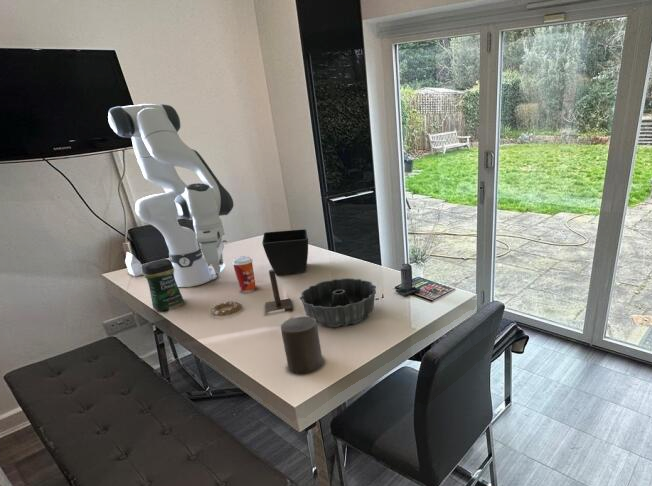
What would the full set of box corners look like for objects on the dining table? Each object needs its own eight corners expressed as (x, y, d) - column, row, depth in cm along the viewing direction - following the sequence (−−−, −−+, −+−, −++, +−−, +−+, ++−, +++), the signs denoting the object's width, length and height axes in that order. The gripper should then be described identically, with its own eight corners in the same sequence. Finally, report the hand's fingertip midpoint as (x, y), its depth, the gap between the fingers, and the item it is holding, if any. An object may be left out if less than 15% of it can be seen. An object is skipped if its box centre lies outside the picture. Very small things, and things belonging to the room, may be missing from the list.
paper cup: (251, 294, 167) (243, 262, 161) (234, 293, 168) (226, 261, 162) (262, 287, 174) (256, 256, 168) (246, 285, 175) (239, 255, 169)
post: (266, 305, 157) (258, 268, 151) (290, 301, 161) (283, 264, 155) (266, 314, 150) (258, 276, 144) (292, 310, 153) (285, 272, 147)
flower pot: (311, 260, 204) (306, 228, 197) (313, 273, 187) (308, 238, 181) (270, 265, 198) (263, 232, 191) (269, 279, 181) (262, 243, 175)
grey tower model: (407, 287, 172) (405, 260, 167) (421, 291, 168) (420, 263, 163) (392, 294, 165) (390, 266, 160) (407, 299, 161) (405, 270, 156)
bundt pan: (318, 300, 161) (314, 277, 157) (384, 300, 160) (382, 277, 156) (292, 334, 137) (287, 307, 133) (370, 334, 136) (367, 307, 132)
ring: (213, 309, 155) (212, 303, 154) (242, 304, 158) (241, 298, 157) (210, 320, 146) (209, 314, 145) (241, 315, 150) (239, 309, 149)
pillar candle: (299, 378, 114) (290, 331, 108) (282, 365, 120) (273, 320, 114) (329, 363, 120) (322, 318, 114) (311, 351, 126) (304, 308, 120)
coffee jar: (161, 313, 152) (146, 266, 144) (150, 308, 156) (135, 263, 148) (187, 303, 159) (174, 259, 152) (177, 299, 163) (163, 255, 156)
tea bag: (134, 276, 187) (127, 255, 183) (129, 273, 190) (122, 253, 186) (144, 274, 189) (137, 253, 185) (138, 271, 193) (131, 250, 189)
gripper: (203, 225, 151) (213, 260, 157) (195, 239, 134) (206, 278, 139) (222, 223, 153) (231, 258, 159) (216, 237, 136) (226, 275, 141)
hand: (219, 268), depth 149 cm, fingers open, 8 cm apart
